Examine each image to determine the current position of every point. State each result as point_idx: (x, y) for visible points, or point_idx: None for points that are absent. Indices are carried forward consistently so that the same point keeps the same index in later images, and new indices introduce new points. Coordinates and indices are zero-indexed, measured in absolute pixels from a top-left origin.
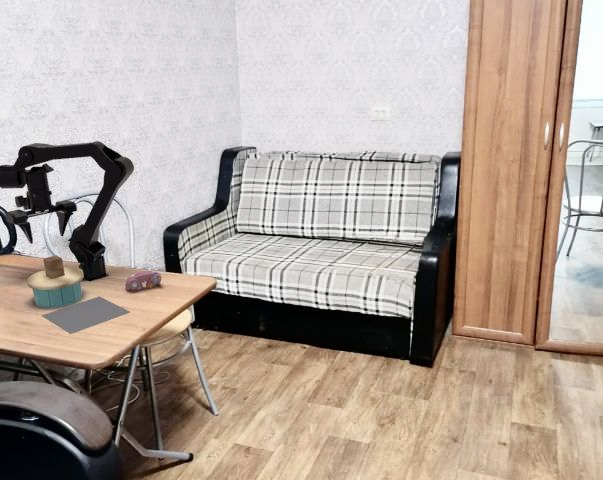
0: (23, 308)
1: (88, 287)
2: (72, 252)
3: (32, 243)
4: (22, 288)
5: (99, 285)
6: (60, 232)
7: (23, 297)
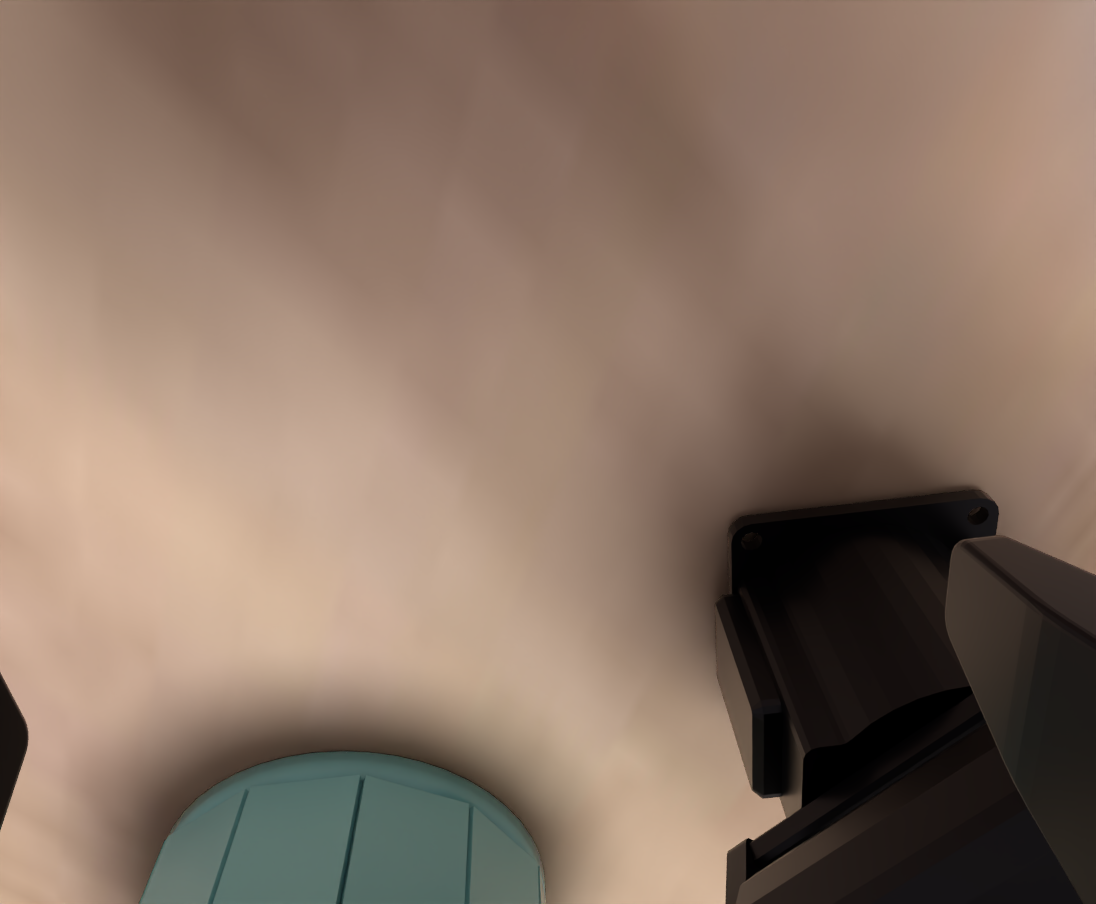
0: (51, 864)
1: (667, 788)
2: (746, 899)
3: (21, 738)
4: (65, 387)
5: (763, 803)
6: (1007, 648)
7: (63, 651)
